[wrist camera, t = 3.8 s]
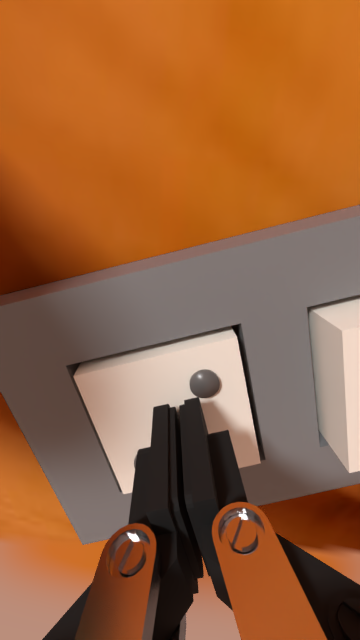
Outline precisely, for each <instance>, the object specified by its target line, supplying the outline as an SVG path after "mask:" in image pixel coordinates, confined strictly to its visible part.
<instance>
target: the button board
mask: <svg viewBox="0 0 360 640" xmlns="http://www.w3.org/2000/svg"><path fill="white" fill-rule="evenodd" d="M355 295H360V205H357V206H353V207H349V208H345V209H341V210H337V211H333V212H329V213H325V214H321V215H317V216H313V217H309V218H305V219H302V220H298V221H294V222H290V223H286V224H282V225H278V226H274V227H270V228H266V229H262V230H258V231H254V232H250V233H246V234H242V235H238V236H234V237H230V238H226V239H222V240H218V241H214V242H210V243H206V244H202V245H199V246H195V247H191V248H187V249H183V250H179V251H175V252H171V253H167V254H163V255H159V256H155V257H151V258H147V259H143V260H139V261H135V262H131V263H127V264H123V265H119V266H115V267H111V268H107V269H103V270H100V271H96V272H92V273H88V274H84V275H80V276H76V277H72V278H68V279H64V280H60V281H56V282H52V283H48V284H44V285H40V286H36V287H32V288H28V289H24V290H20V291H16V292H12V293H8V294H4V295H1V296H0V392H1V393H2V395H3V397H4V399H5V401H6V403H7V405H8V407H9V408H10V410H11V412H12V414H13V416H14V418H15V420H16V421H17V423H18V425H19V427H20V429H21V431H22V433H23V434H24V436H25V438H26V440H27V442H28V444H29V446H30V447H31V449H32V451H33V453H34V455H35V457H36V459H37V460H38V462H39V464H40V466H41V468H42V470H43V472H44V473H45V475H46V477H47V479H48V481H49V483H50V485H51V486H52V488H53V490H54V492H55V494H56V496H57V498H58V500H59V501H60V503H61V505H62V507H63V509H64V511H65V513H66V514H67V516H68V518H69V520H70V522H71V524H72V526H73V527H74V529H75V531H76V533H77V535H78V537H79V539H80V540H81V542H82V544H83V545H84V544H89V543H93V542H98V541H102V540H107V539H110V537H111V536H112V535H113V534H114V533H115V532H117V531H118V530H119V529H120V528H122V527H124V526H126V525H128V522H129V514H130V506H131V498H132V493H127V494H123V492H122V490H121V487H120V485H119V483H118V480H117V478H116V476H115V473H114V471H113V469H112V466H111V464H110V462H109V459H108V457H107V454H106V452H105V450H104V447H103V445H102V443H101V440H100V438H99V436H98V433H97V431H96V429H95V426H94V424H93V422H92V419H91V417H90V415H89V412H88V410H87V407H86V405H85V403H84V400H83V398H82V396H81V393H80V391H79V389H78V386H77V384H76V382H75V379H74V377H73V376H74V374H75V372H76V370H77V368H78V367H79V365H80V363H81V362H83V361H87V360H91V359H95V358H100V357H104V356H108V355H112V354H116V353H120V352H124V351H128V350H133V349H137V348H141V347H145V346H149V345H153V344H157V343H161V342H166V341H170V340H174V339H178V338H182V337H186V336H190V335H195V334H199V333H203V332H207V331H211V330H215V329H219V328H223V327H228V326H232V329H233V331H234V333H235V334H236V336H237V340H238V345H239V350H240V356H241V361H242V366H243V372H244V377H245V382H246V388H247V393H248V398H249V403H250V409H251V414H252V419H253V425H254V430H255V435H256V441H257V446H258V451H259V456H260V462H261V463H260V464H256V465H251V466H247V467H242V468H239V471H240V475H241V478H242V482H243V486H244V490H245V493H246V497H247V501H248V503H250V504H252V505H255V506H260V505H265V504H269V503H274V502H279V501H283V500H288V499H292V498H297V497H301V496H306V495H310V494H315V493H319V492H324V491H328V490H333V489H337V488H342V487H346V486H351V485H355V484H360V471H357V472H352V473H349V472H348V471H347V469H346V468H345V466H344V465H343V464H342V462H341V461H340V459H339V458H338V456H337V455H336V454H335V452H334V451H333V449H332V448H331V447H330V445H329V444H328V442H327V441H326V439H325V438H324V437H323V435H322V434H321V432H320V431H319V430H318V420H317V409H316V400H315V389H314V379H313V368H312V357H311V347H310V336H309V325H308V314H307V307H310V306H314V305H318V304H322V303H327V302H331V301H335V300H339V299H343V298H347V297H351V296H355Z"/></svg>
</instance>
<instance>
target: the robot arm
mask: <svg viewBox="0 0 360 640" xmlns="http://www.w3.org/2000/svg"><path fill="white" fill-rule="evenodd" d="M179 412H180V420H179V417H178V414H177V410H176V407H170V405H169V404H165V405H160V406H156V407H154V408H153V419H152V432H151V446H150V447H147V448H142V449H139V450H138V452H137V458H136V466H135V474H134V482H133V490H132V498H131V506H130V514H129V522H128V525H126V526H124V527H122V528H120V529H119V530H118V531H117V532H115V533H114V534H113V535H112V536H111V537H110V539H109V540H108V542H107V543H106V545H105V547H104V549H103V551H102V554H101V557H100V560H99V563H98V566H97V570H96V573H95V576H94V579H93V582H92V583H91V585H90V586H89V587H88V588H87V589H86V590H85V592H84V593H83V594H82V595H81V596H80V597H79V598H78V599H77V601H76V602H75V603H74V604H73V605H72V606H71V607H70V609H69V610H68V611H67V612H66V613H65V614H64V615H63V617H62V618H61V619H60V620H59V621H58V622H57V624H56V625H55V626H54V627H53V628H52V629H51V630H50V632H49V633H48V634H47V635H46V636H45V637H44V638H43V639H42V640H185V635H186V612H187V610H188V609H189V607H190V606H191V604H192V602H193V594H195V593H198V581H197V579H198V578H203V563H202V557H203V560H204V563H205V566H206V569H207V572H208V575H209V576H211V579H212V582H213V585H214V588H215V591H216V594H217V597H218V598H219V599H220V600H221V601H223V602H224V603H225V604H226V605H227V606H228V607H229V608H230V609H231V610H233V612H234V616H235V619H236V623H237V626H238V630H239V633H240V637H241V640H360V585H359V584H357V583H355V582H354V581H352V580H351V579H349V578H347V577H346V576H344V575H342V574H341V573H339V572H338V571H336V570H334V569H333V568H331V567H330V566H328V565H326V564H325V563H323V562H322V561H320V560H318V559H317V558H315V557H314V556H312V555H310V554H309V553H307V552H305V551H304V550H302V549H301V548H299V547H297V546H296V545H294V544H293V543H291V542H289V541H288V540H286V539H285V538H283V537H281V536H280V535H278V534H276V533H275V532H274V530H273V528H272V526H271V524H270V522H269V520H268V518H267V517H266V515H265V514H264V512H263V511H262V510H260V509H259V508H258V507H257V506H255V505H252V504H250V503H248V501H247V497H246V493H245V490H244V486H243V482H242V478H241V475H240V471H239V467H238V464H237V460H236V456H235V453H234V449H233V445H232V442H231V438H230V434H229V431H228V430H225V431H220V432H216V433H211V434H208V430H207V426H206V422H205V418H204V414H203V410H202V407H201V403H200V399H199V397H196V398H191V399H187V400H184V404H183V405H179Z"/></svg>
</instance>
